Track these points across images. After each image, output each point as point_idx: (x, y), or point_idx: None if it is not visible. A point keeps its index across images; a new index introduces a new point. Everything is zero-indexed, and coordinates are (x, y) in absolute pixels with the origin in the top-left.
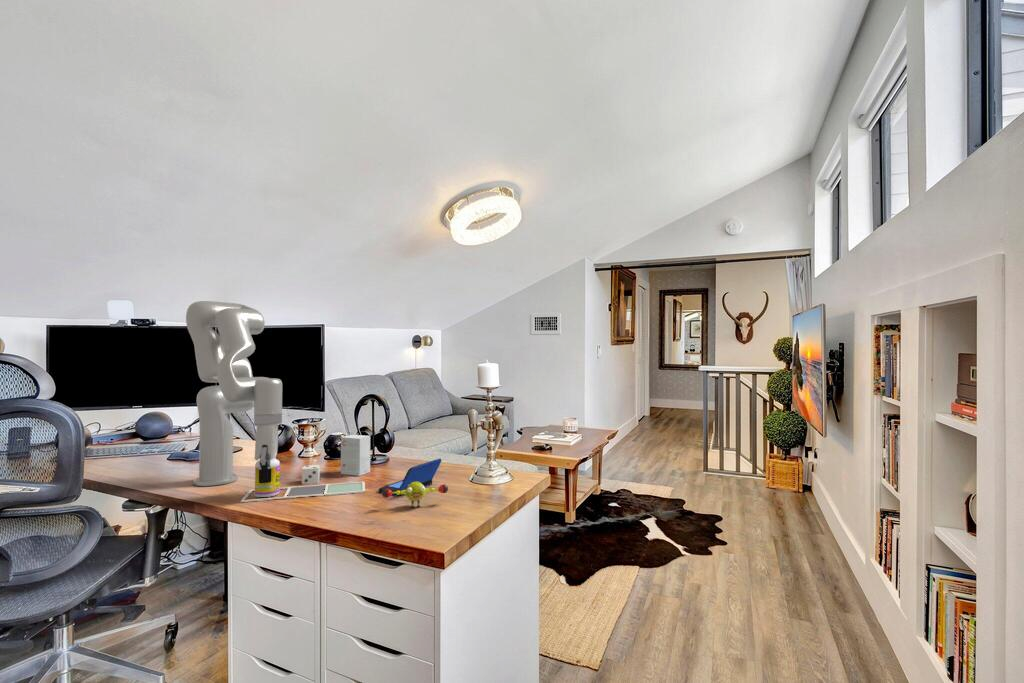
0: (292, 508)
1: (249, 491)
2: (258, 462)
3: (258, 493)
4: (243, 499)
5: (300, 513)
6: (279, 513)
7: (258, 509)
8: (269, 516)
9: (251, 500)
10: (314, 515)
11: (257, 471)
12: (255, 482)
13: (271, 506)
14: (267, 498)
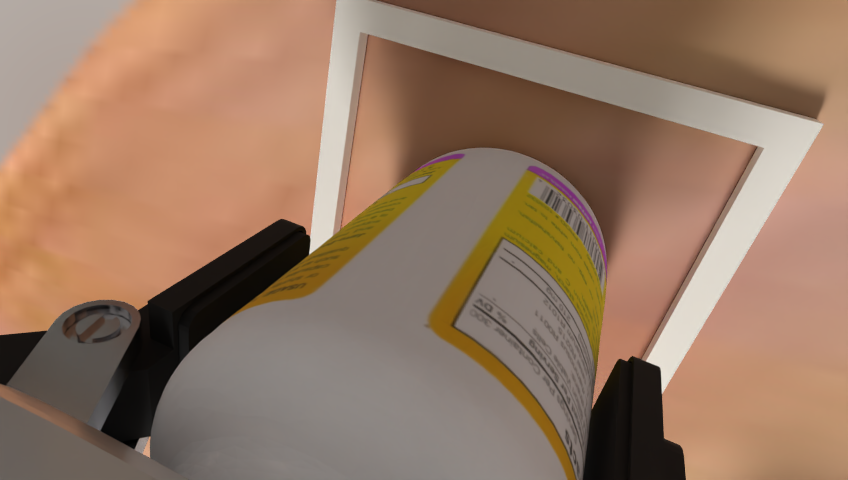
0: (115, 292)
1: (731, 116)
2: (216, 404)
3: (403, 179)
4: (384, 23)
5: (38, 295)
6: (47, 213)
7: (133, 118)
8: (8, 156)
9: (326, 95)
10: (10, 329)
11: (277, 280)
12: (407, 195)
13: (176, 206)
14: (322, 222)
